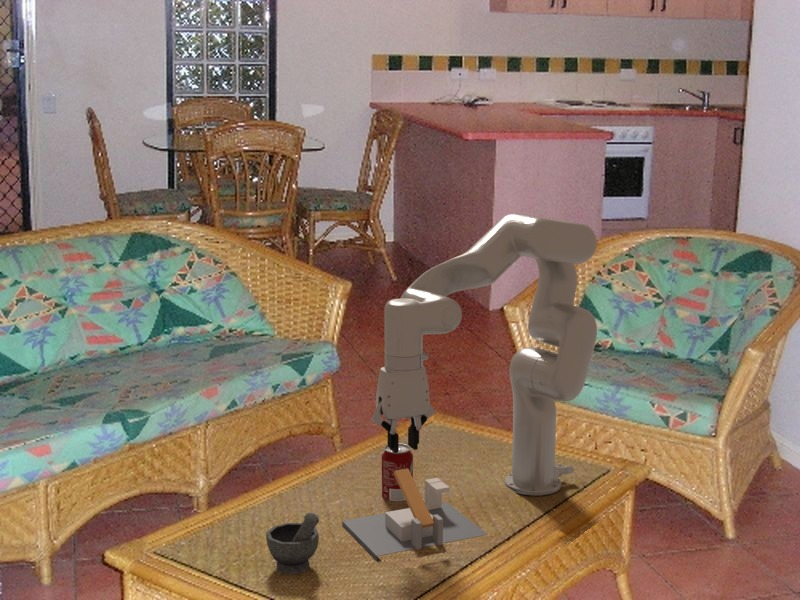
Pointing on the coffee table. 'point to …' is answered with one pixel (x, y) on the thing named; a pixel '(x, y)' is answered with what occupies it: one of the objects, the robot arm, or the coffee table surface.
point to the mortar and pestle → (294, 544)
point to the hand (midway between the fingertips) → (403, 448)
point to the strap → (413, 497)
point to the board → (391, 544)
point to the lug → (434, 493)
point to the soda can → (392, 464)
